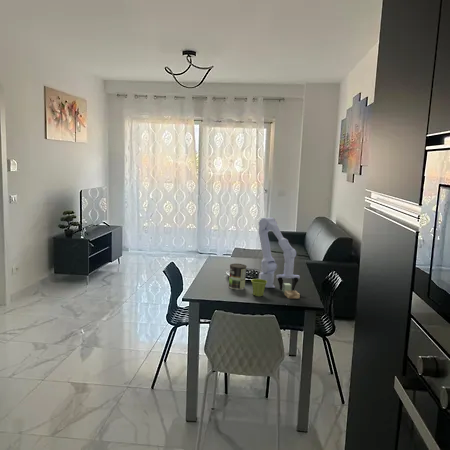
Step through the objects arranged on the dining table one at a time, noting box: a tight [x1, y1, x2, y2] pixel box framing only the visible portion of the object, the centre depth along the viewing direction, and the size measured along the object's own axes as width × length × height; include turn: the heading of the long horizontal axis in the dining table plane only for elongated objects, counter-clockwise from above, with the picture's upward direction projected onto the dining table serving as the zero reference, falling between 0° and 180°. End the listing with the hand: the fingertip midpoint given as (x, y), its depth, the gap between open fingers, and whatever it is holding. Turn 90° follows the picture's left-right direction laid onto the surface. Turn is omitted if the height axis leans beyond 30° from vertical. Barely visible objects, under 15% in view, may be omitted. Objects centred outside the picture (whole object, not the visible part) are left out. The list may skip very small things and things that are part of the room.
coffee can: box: [228, 263, 247, 291], centre depth 267 cm, size 10×10×14 cm
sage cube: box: [282, 282, 292, 294], centre depth 265 cm, size 4×4×5 cm
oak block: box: [283, 290, 301, 299], centre depth 256 cm, size 7×7×3 cm
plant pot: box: [250, 278, 267, 297], centre depth 254 cm, size 9×9×9 cm
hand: (286, 289), depth 265 cm, fingers open, 7 cm apart
